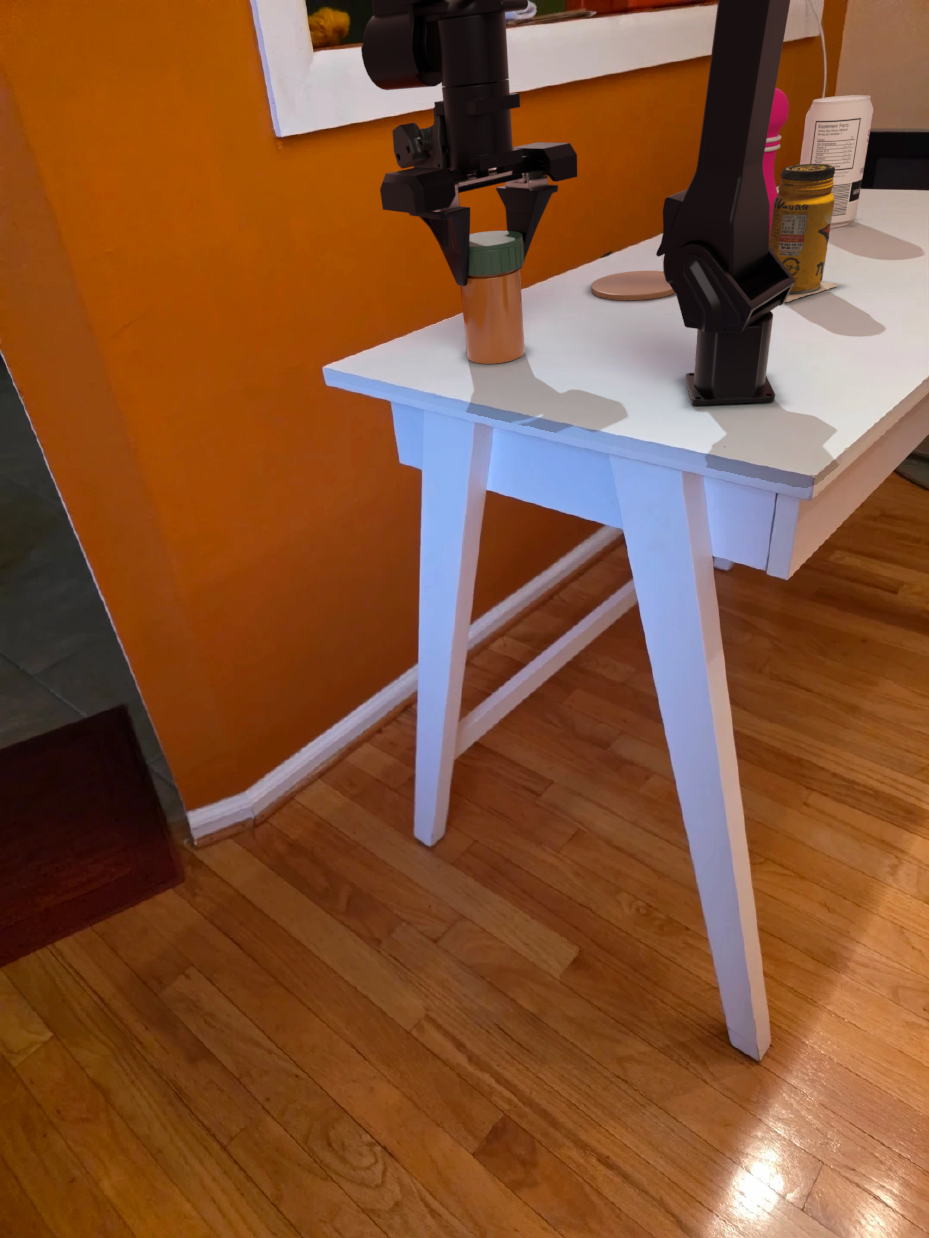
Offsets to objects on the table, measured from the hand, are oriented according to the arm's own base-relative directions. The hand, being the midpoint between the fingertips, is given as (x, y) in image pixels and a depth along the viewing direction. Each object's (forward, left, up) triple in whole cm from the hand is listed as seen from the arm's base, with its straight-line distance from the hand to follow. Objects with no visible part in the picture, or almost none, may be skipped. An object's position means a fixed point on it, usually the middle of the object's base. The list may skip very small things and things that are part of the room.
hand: (489, 277), depth 78 cm
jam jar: (0, 0, -7) cm, 7 cm away
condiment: (+17, -31, -8) cm, 36 cm away
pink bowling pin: (+32, -29, -8) cm, 44 cm away
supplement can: (+50, -42, -8) cm, 66 cm away
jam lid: (0, 0, +3) cm, 3 cm away
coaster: (+22, -15, -7) cm, 28 cm away
